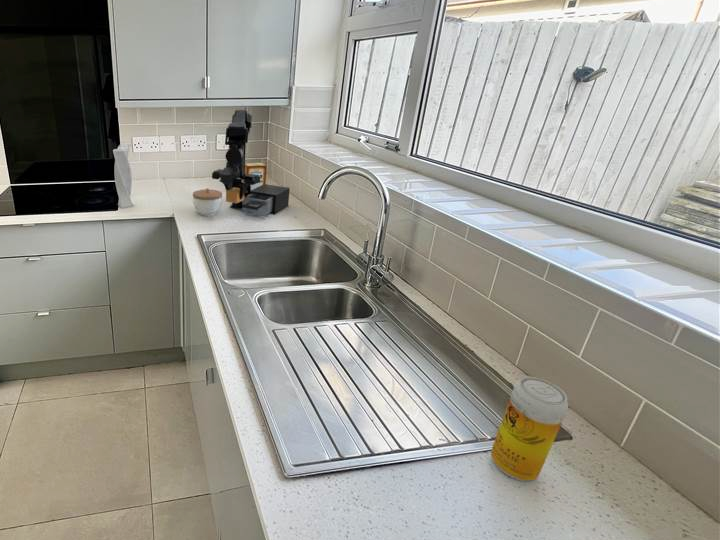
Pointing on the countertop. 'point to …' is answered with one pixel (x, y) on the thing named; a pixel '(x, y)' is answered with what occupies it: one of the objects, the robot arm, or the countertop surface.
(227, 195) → the wooden block
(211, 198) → the lidded bowl
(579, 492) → the countertop surface
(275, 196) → the drawer box
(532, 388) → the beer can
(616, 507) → the countertop surface
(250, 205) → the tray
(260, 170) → the baking soda box
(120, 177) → the skyscraper
